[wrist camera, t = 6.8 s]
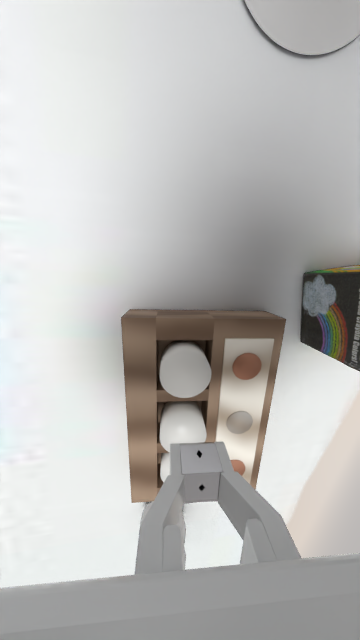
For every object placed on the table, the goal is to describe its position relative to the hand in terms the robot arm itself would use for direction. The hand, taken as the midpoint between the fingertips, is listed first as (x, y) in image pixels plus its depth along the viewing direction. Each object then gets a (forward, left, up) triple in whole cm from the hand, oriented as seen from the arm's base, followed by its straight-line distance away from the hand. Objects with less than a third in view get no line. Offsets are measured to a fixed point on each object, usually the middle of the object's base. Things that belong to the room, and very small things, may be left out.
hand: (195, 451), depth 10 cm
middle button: (+7, 0, -10) cm, 12 cm away
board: (+7, +2, -13) cm, 14 cm away
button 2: (0, 0, -10) cm, 10 cm away
